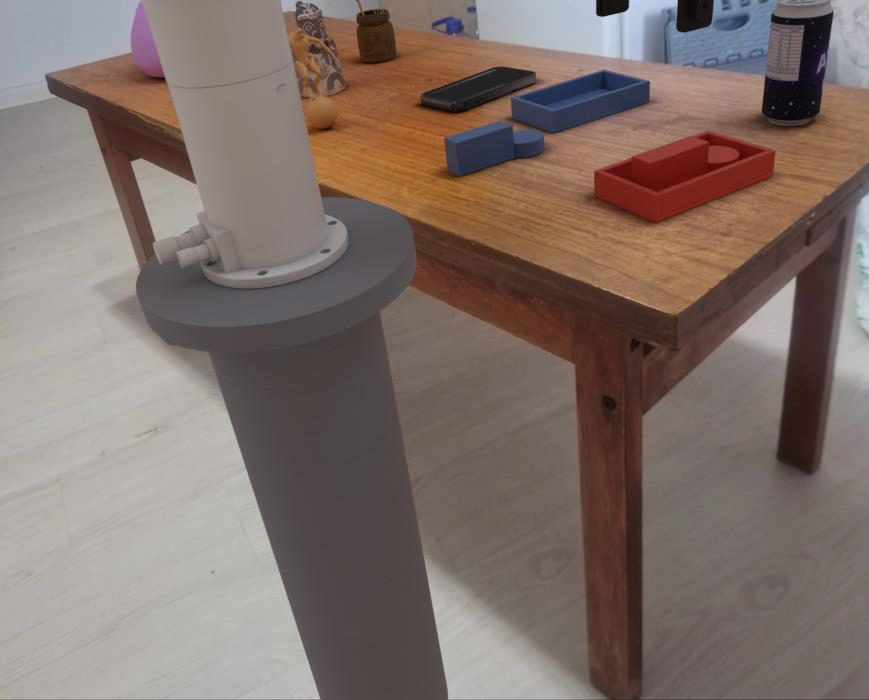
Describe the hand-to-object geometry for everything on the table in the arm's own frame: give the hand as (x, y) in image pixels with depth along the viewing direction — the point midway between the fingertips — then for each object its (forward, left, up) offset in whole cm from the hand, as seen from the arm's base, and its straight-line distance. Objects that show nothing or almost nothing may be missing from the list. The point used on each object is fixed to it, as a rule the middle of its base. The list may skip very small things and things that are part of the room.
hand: (650, 21), depth 68 cm
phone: (+7, +39, -15) cm, 43 cm away
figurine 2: (-14, +44, -15) cm, 49 cm away
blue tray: (+11, +23, -15) cm, 30 cm away
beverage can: (+23, +3, -15) cm, 28 cm away
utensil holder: (+7, +69, -15) cm, 72 cm away
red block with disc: (+3, -2, -15) cm, 15 cm away
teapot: (-15, +94, -15) cm, 97 cm away
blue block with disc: (-5, +17, -15) cm, 24 cm away
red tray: (+3, -2, -15) cm, 15 cm away
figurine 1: (-7, +60, -15) cm, 63 cm away
